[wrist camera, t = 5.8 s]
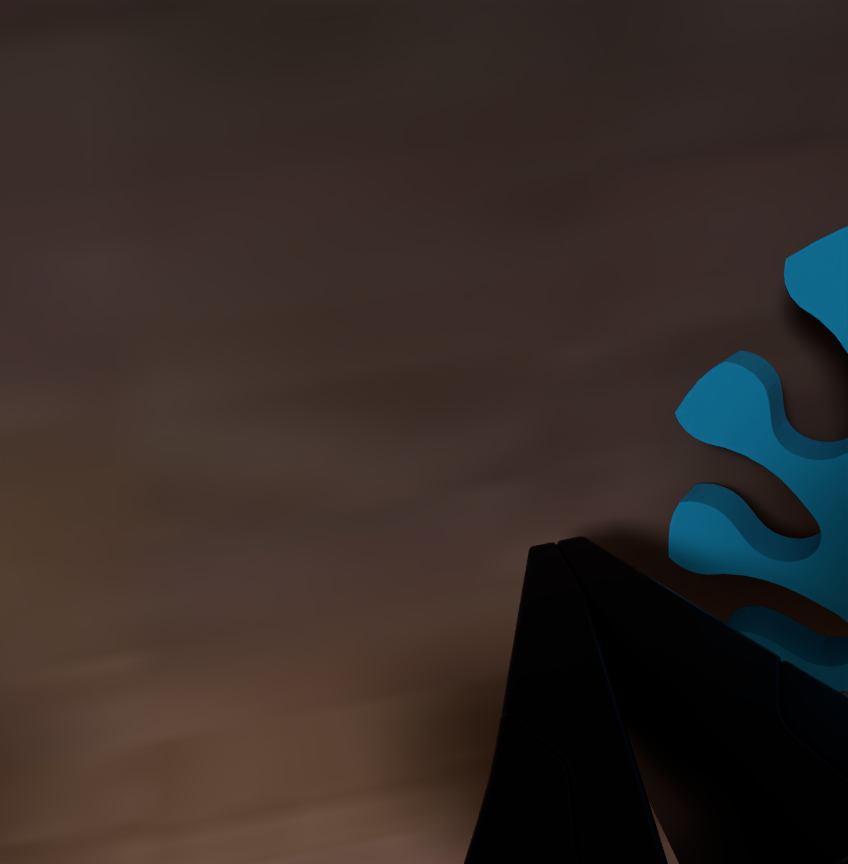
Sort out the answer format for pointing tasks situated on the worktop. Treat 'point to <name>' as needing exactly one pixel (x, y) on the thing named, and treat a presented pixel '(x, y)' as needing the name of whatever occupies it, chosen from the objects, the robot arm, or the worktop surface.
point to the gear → (790, 461)
